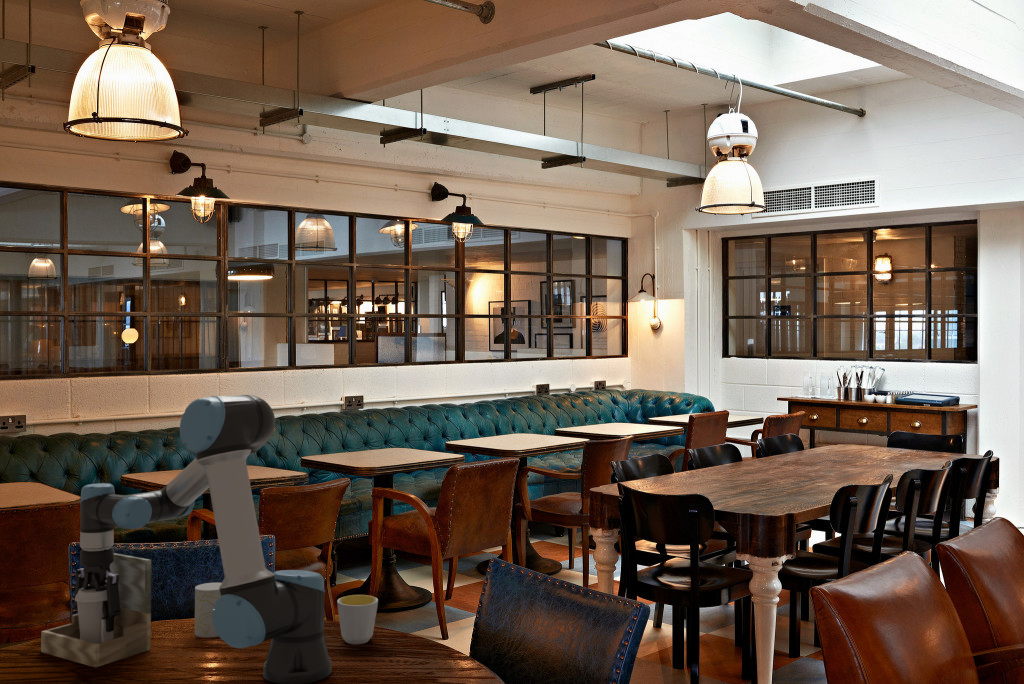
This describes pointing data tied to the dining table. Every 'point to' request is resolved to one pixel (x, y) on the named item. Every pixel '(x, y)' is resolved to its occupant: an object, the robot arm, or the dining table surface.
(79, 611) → the coffee cup
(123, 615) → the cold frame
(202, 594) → the white cylinder
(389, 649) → the dining table surface
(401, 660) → the dining table surface
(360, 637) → the mug
